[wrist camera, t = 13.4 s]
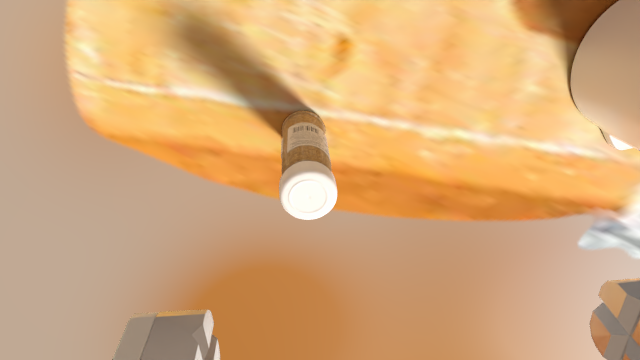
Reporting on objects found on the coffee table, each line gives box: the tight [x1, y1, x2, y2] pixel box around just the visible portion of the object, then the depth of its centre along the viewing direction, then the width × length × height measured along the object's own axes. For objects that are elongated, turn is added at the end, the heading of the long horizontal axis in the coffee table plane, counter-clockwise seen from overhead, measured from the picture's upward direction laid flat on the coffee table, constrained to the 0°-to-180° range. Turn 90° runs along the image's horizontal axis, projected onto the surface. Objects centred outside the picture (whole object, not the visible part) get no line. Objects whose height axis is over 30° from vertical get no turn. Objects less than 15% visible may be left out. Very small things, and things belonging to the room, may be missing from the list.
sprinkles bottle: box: [279, 111, 337, 220], centre depth 41 cm, size 5×5×14 cm
